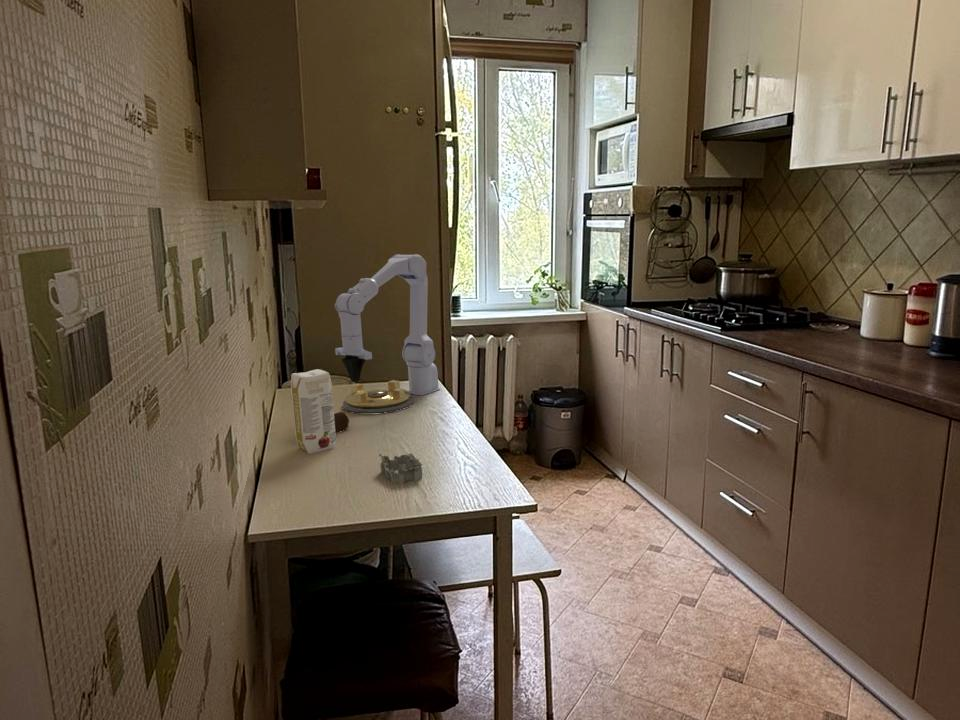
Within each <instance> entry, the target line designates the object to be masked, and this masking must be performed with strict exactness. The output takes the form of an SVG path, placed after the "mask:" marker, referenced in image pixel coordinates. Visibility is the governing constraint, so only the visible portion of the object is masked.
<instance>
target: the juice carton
mask: <svg viewBox="0 0 960 720" xmlns="http://www.w3.org/2000/svg"><path fill="white" fill-rule="evenodd" d="M290 377H291V378H290V391H291V393H290V394H291V400H292V411H293V412H292V413H293V414H292V415H293V423H294V435H295V441H296V445H297V447H298V449H299V450H300V451H303V452H304V453H306V454H308V455H313V454H316V453H320V452H323V451H328V450H331V449H332V450H333V449H335V448H336V433H335V420H334V414H335V409H334V399H333V398H334V397H333V385H332V380H331V376H330V373H329V372H328V371H326V370H323V369H320V368H319V369H318V368H317V369H312V370H309V371H306V372H297V373H296V372H294V373H291V376H290Z"/></svg>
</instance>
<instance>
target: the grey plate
mask: <svg viewBox="0 0 960 720" xmlns="http://www.w3.org/2000/svg"><path fill="white" fill-rule="evenodd" d="M413 404H414V397H413V396H412V395H411V394H410V399H409V400H408V401H406V402H405V403H402V404H399V405H395V406H390V407H383V408H357V407H352V406H349V405H348V404H347V403H346V399H345V400H344V401H343V402H342V407H343V408H344V409H345V410H344V409H343V410H344V411H346V412H348V411H349V412H348V413H351V412H354V413H353V414H356V413H383V414H385V413H384V412H390V411H396V410H400V409H403V408H406V407H408V408H410V407H411V406H412V405H413ZM410 405H411V406H410ZM409 406H410V407H409ZM406 409H407V408H406ZM403 410H404V409H403ZM400 411H401V410H400ZM396 412H397V411H396ZM390 413H391V412H390Z"/></svg>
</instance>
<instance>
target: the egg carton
mask: <svg viewBox="0 0 960 720" xmlns="http://www.w3.org/2000/svg"><path fill="white" fill-rule="evenodd" d="M378 457H380V458H381V459H380V460H381V463H380V466H379V467H380V471H381V474H385V478H387V479H390V482H391V483H392V484H398V485H401V484H405V482H406V481H414V482H415V481H419V480H420V479H421V478H423V469H422V466H423V463H422V462H421V461H420V460H419V459H417V457H415V455H414V454H413V453H407V454H401V455H400V456H397V455H394V457H393V459H390V457H389V456H388V455H383V456H382V453H379V454H378Z"/></svg>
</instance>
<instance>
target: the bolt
mask: <svg viewBox="0 0 960 720" xmlns="http://www.w3.org/2000/svg"><path fill="white" fill-rule="evenodd" d="M334 420H335V433H337V432H338V433H341V432H340V431H342V432H344V431H343V430H345V431H346V430H347V429H348V426H349V423H350V419H349V417H348V415H347V414H346V413H345V412H343V411H339V412H334Z"/></svg>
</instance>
